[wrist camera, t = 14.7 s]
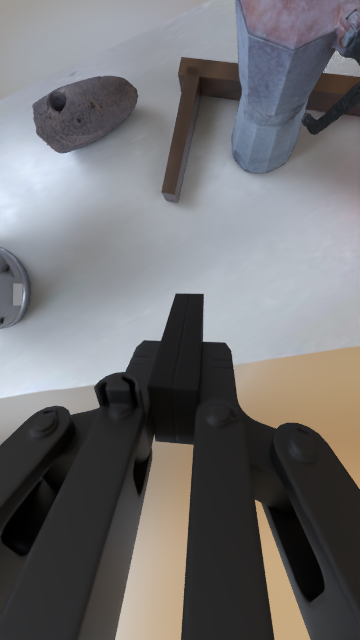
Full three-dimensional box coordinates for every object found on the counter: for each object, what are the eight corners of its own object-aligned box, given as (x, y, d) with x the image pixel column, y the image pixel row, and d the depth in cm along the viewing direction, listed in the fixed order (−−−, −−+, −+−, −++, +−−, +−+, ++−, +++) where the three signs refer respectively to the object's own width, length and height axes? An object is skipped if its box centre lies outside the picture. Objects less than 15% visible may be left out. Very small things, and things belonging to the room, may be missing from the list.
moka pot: (254, 75, 32) (317, -273, 12) (330, 154, 32) (517, -68, 12) (204, 132, 34) (188, -89, 14) (275, 207, 33) (359, 90, 14)
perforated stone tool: (138, 89, 34) (119, 40, 27) (148, 125, 35) (132, 85, 28) (55, 131, 37) (19, 96, 30) (65, 164, 37) (32, 136, 31)
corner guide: (159, 199, 36) (154, 191, 33) (184, 77, 33) (181, 56, 30) (330, 231, 33) (341, 226, 30) (373, 100, 30) (390, 80, 27)
